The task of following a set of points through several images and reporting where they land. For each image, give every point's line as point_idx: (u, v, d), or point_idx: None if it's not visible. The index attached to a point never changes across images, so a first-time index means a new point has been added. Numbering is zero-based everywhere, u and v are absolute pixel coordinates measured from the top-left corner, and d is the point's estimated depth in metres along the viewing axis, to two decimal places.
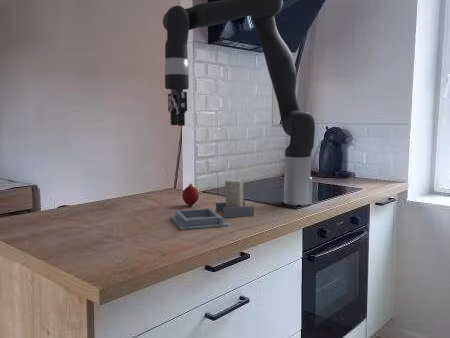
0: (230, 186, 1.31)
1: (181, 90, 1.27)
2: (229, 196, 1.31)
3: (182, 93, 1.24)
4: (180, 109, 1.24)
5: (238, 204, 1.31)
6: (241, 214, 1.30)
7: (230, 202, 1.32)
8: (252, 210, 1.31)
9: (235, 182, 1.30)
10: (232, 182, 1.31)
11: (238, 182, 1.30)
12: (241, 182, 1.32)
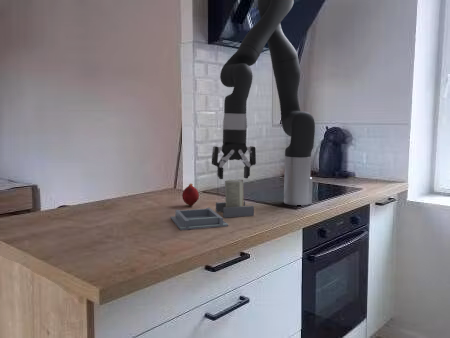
0: (230, 186, 1.31)
1: None
2: (229, 196, 1.31)
3: None
4: None
5: (238, 204, 1.31)
6: (241, 214, 1.30)
7: (230, 202, 1.32)
8: (252, 210, 1.31)
9: (235, 182, 1.30)
10: (232, 182, 1.31)
11: (238, 182, 1.30)
12: (241, 182, 1.32)
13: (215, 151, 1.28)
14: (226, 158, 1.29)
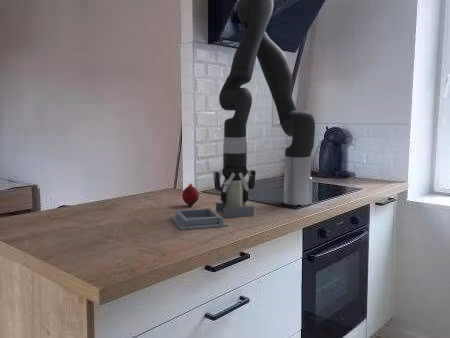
0: (230, 186, 1.31)
1: None
2: (230, 196, 1.31)
3: None
4: None
5: (238, 204, 1.31)
6: (241, 214, 1.30)
7: (230, 202, 1.32)
8: (252, 210, 1.31)
9: (235, 182, 1.30)
10: (232, 182, 1.31)
11: (238, 182, 1.30)
12: (241, 182, 1.32)
13: (216, 176, 1.29)
14: (228, 182, 1.30)
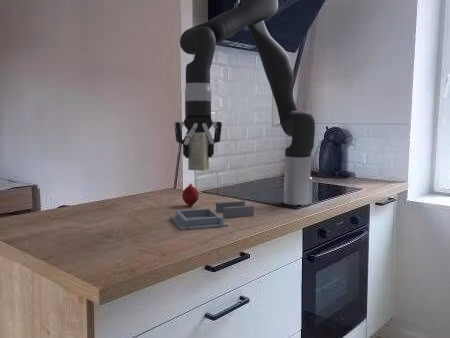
0: (192, 138, 1.18)
1: None
2: (192, 150, 1.18)
3: None
4: None
5: (201, 158, 1.18)
6: (241, 214, 1.30)
7: (193, 157, 1.19)
8: (252, 210, 1.31)
9: (198, 134, 1.17)
10: (195, 134, 1.18)
11: (202, 134, 1.17)
12: (205, 134, 1.19)
13: (177, 127, 1.16)
14: (190, 134, 1.17)
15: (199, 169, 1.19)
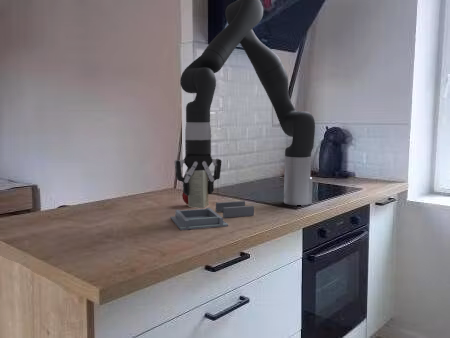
0: (192, 176, 1.19)
1: None
2: (192, 187, 1.20)
3: None
4: None
5: (201, 196, 1.19)
6: (241, 214, 1.30)
7: (192, 194, 1.20)
8: (252, 210, 1.31)
9: (198, 172, 1.19)
10: (195, 172, 1.19)
11: (201, 172, 1.18)
12: (205, 172, 1.20)
13: (177, 166, 1.18)
14: (190, 172, 1.18)
15: (199, 206, 1.20)
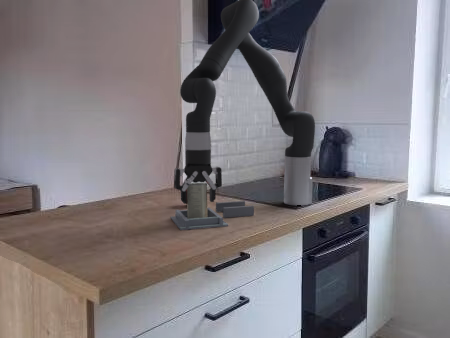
0: (191, 190, 1.20)
1: None
2: (191, 201, 1.20)
3: None
4: None
5: (201, 210, 1.20)
6: (241, 214, 1.30)
7: (192, 208, 1.21)
8: (252, 210, 1.31)
9: (197, 186, 1.19)
10: (194, 186, 1.20)
11: (200, 186, 1.19)
12: (204, 186, 1.21)
13: (176, 174, 1.18)
14: (189, 181, 1.19)
15: None
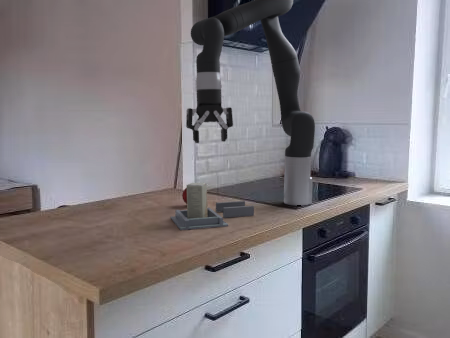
0: (191, 190, 1.20)
1: None
2: (191, 201, 1.20)
3: None
4: None
5: (200, 210, 1.20)
6: (241, 214, 1.30)
7: (192, 208, 1.21)
8: (252, 210, 1.31)
9: (197, 186, 1.19)
10: (194, 186, 1.20)
11: (200, 186, 1.19)
12: (204, 186, 1.21)
13: (189, 113, 1.21)
14: (201, 120, 1.22)
15: None
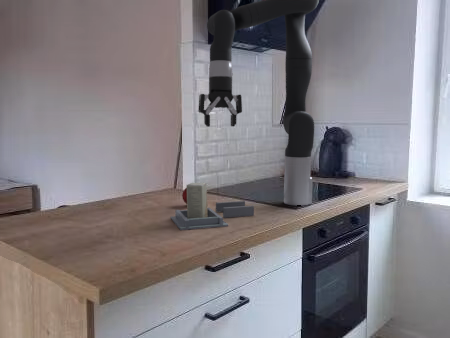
0: (191, 190, 1.20)
1: None
2: (191, 201, 1.20)
3: None
4: None
5: (200, 210, 1.20)
6: (241, 214, 1.30)
7: (192, 208, 1.21)
8: (252, 210, 1.31)
9: (197, 186, 1.19)
10: (194, 186, 1.20)
11: (200, 186, 1.19)
12: (204, 186, 1.21)
13: (201, 98, 1.31)
14: (212, 105, 1.31)
15: None
